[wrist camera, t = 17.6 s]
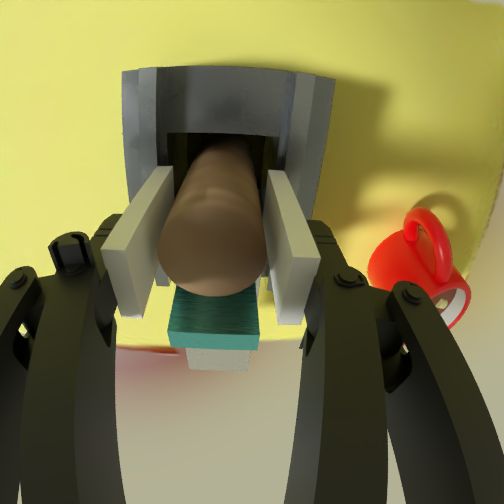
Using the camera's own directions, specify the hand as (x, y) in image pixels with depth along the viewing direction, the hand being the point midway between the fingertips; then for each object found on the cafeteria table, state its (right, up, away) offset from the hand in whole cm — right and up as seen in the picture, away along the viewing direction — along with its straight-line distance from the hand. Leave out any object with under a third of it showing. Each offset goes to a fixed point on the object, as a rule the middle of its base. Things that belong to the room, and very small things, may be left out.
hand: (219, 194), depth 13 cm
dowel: (0, +4, +6) cm, 7 cm away
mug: (+16, -2, +12) cm, 20 cm away
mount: (0, +4, +6) cm, 7 cm away
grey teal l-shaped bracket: (-1, -7, +6) cm, 10 cm away
